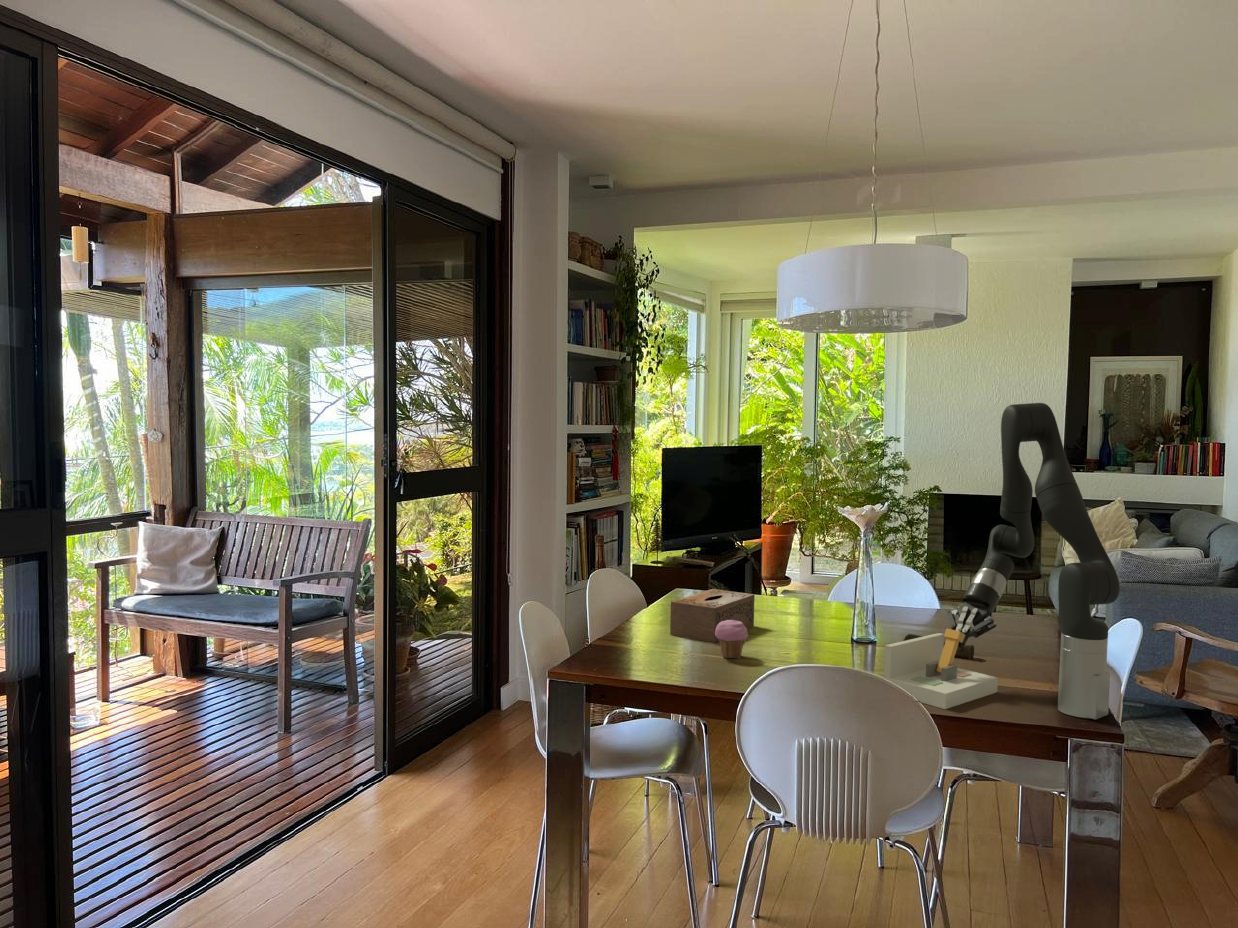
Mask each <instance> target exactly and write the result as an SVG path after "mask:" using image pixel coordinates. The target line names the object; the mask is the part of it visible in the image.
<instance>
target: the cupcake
mask: <svg viewBox="0 0 1238 928" xmlns="http://www.w3.org/2000/svg"><path fill="white" fill-rule="evenodd" d="M715 636H716V637H717V638H718V639H719V640H718V642H719V648H720V653H721V655H722V656H723V658H726V659H740V658H741V656H742V652H743V647H744V644H745V640H747V638H748V637H749V633H748V629H746V627H745V626H744V625H743V623H742V622H740V621H735V620H726V621H721V622H720V623H719V624H718V625H717V627H716V630H715Z"/></svg>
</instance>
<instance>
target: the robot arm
mask: <svg viewBox="0 0 1238 928" xmlns="http://www.w3.org/2000/svg"><path fill="white" fill-rule="evenodd" d="M1055 416H1056V415H1054V412H1053V409H1052V408H1051V407H1050V406H1049V405H1048V404H1046V403H1044V402H1043V403H1042V402H1032V403H1031V402H1030V403H1018V404H1009V405H1008V406H1007V407H1005V408H1004V410H1003V412H1002V416H1001V422H1000V439H1001V441H1000V442H1001V459H1002V490H1001V500H1000V508H999V514H1000V517H1001V518H1002V519H1004V520H1005V521H1007V522H1009V523H1011V524H1012V525H1014V526H1011V525H1006V524H998V525H996V526H995V527H993V528H992V529H991V531H990V534H989V538H988V545H987V546H988V547H987V551H986V555H985V558H984V560H983V562H982V564H981V566H980V568H979V569H978V571H977V572H976V574H975V575H974V576H973V579H972V580H971V582H970V583H969V586H968V588H967V590H966V592H965V593H964V595H963V597H962V600H961V601H962V602H961V603H960V604H959V605H958V606H957V607H956V609H954V610H951V609H949V608H947V610H946V611H945V614H946V616H947V620H948V623H949V626H950V629H952V630H956V631H960V632H962V633H963V634H964V635H965V636H964V639H963V642H962V643H961V642H959V644H958V647H957V649H959V650H960V649H961V648H963V647H964V645H966V643H967V641H968V640H969V639H970V638H971V637H973V638H975V639H976V638H979V637H981V636H982V635H985V634H986V633H988V632H990V631H992V630H993V629H995V628H996V627H997V623H996V621H995V619H994V618H993V617H992V616H993V613H994V611H995V609H996V606H998V603H999V601H1000V600H1001V597H1002V596H1003V593H1004V591H1005V588H1006V585H1007V583H1008V582H1009V579H1010V577H1011V575H1012V574H1013V571H1014V569H1015V564H1014V561H1013V560H1012V559H1011V558H1010V557H1008V556H1009V555H1010V556H1013V557H1016V558H1019V559H1020V558H1022V559H1024V558H1028V557H1029V556H1030V555H1031V553H1032V552H1033V551H1034V547H1035V534H1034V529H1033V525H1032V517H1031V511H1032V504H1033V503H1032V501H1033V491H1034V495H1035V499H1036V500H1037V504H1038V506H1039V510H1040V511H1041V514H1042V517H1043V519H1044V520H1045V521H1046V523H1047V524H1048V525H1049V526H1050V527H1051V528H1052V529H1053V530H1054V531H1055V532H1056V533H1057V534H1058V535H1059V536H1060V537H1062V539H1064V540H1065V541H1066V542H1067V543H1068V544H1069V546H1070V547H1071V548H1072V549H1073V550H1074V553H1075V554H1076V557H1078V558H1077V559H1078V560H1079V562H1069V563H1066V564H1065V565H1063V567H1062V569H1060V570H1061V571H1060V573H1059V577H1058V584H1057V586H1058V588H1057V589H1058V592H1057V593H1058V595H1057V596H1058V620H1059V622H1060V623H1059V624H1060V626H1061V627H1060V630H1061V631H1060V651H1059V653H1060V654H1059V669H1058V670H1059V672H1058V674H1059V675H1058V696H1057V710H1058V711H1059V712H1061V713H1062V714H1065V715H1068V716H1072V717H1076V718H1081V719H1082V718H1083V719H1092V720H1099V719H1101V718H1103V717H1106V716H1108V715H1109V709H1110V707H1109V706H1110V683H1111V673H1110V671H1107V662H1108V644H1109V643H1108V641H1109V627H1108V625H1107V624H1106V623H1105V622H1103V621H1101V620H1097V619H1095V618H1093V617H1092V616H1091V606H1092V605H1095V606H1096V605H1108V604H1113V603H1115V601H1116V600H1118V598H1119V595H1120V589H1121V588H1120V587H1121V586H1120V580H1119V576H1118V573H1117V571H1116V569H1115V566H1114V564H1113V562H1112V561H1111V559H1110V557H1109V555H1108V552H1107V551H1106V549H1105V548H1104V546H1103V544H1102V541H1101V540H1100V538H1099V536H1098V533H1097V531H1096V529H1095V527H1094V523H1093V522H1092V520H1091V519H1092V518H1091V517H1090V514H1089V512H1088V510H1087V507H1086V504H1085V500H1084V499H1083V495H1082V493H1081V490H1080V487H1079V485H1078V483H1077V480H1076V479H1075V477H1074V473H1073V471H1072V469H1071V466H1070V463H1069V461H1068V460H1069V459H1067V455H1066V451H1065V447H1064V445H1063V441H1062V437H1061V433H1060V430H1059V427H1058V424H1057V423H1058V422H1057V419H1056V417H1055ZM1028 442H1037V443H1038V445H1039V448H1040V451H1041V455H1042V461H1041V466H1040V469H1039V472H1038V474H1037V477H1036V480H1035V483H1034V484H1035V485H1034V488H1033V484H1032V482H1031V479H1030V476H1029V475H1028V472H1027V471H1026V469H1025V467H1024V466H1023V463H1022V460H1021V458H1020V447H1021V446H1020V445H1021V443H1028ZM1033 489H1034V490H1033ZM1005 554H1006V555H1005ZM1007 555H1008V556H1007ZM1090 605H1091V606H1090ZM957 618H958V619H957ZM957 620H958V621H957Z"/></svg>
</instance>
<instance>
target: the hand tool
mask: <svg viewBox="0 0 1238 928" xmlns="http://www.w3.org/2000/svg"><path fill="white" fill-rule="evenodd" d="M923 636H924V635H917V634H913V633H908V634H906V635H905V636H904V638H903V640H902V641H906V640H910V639H915V638H919V637H923ZM945 642H946V641H944V645H945ZM974 656H975V646H974V644H970V645H966V644H965V645H964V647H963V648H961V649H960V650H959V649H957V650H956V654H955V657H958V658H964V659H965V658H966V659H968V660H969V659H970V661H972V660H973V659H974ZM971 659H972V660H971Z"/></svg>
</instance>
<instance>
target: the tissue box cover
mask: <svg viewBox="0 0 1238 928" xmlns="http://www.w3.org/2000/svg"><path fill="white" fill-rule="evenodd" d="M726 620H735V621H740V622H742V623H743V625H744V626H745V627H746V629H747V630H748V629H751V628H753V627H754V626H755V594H753V593H747V592H746V593H745V592H738V591H731V590H730V591H729V590H726V589H725V590H724V589H715V588H711V589H708V590H705V591H702V592H698V593H695V594H692V595H688V596H684V597H682V598H678V599H675V600H673V601H670V620H669V621H670V623H669V625H670V627H669V629H670V630H669V635H670V636H676V637H682V638H686V639H688V638H689V639H693V640H697V641H698V640H700V641H706V642H710V643H711V642H712V643H715V642H719V639H718V638H717V637H716V636H715V630H716V627H717V625H718V624H719V623H720V622H721V621H726Z"/></svg>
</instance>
